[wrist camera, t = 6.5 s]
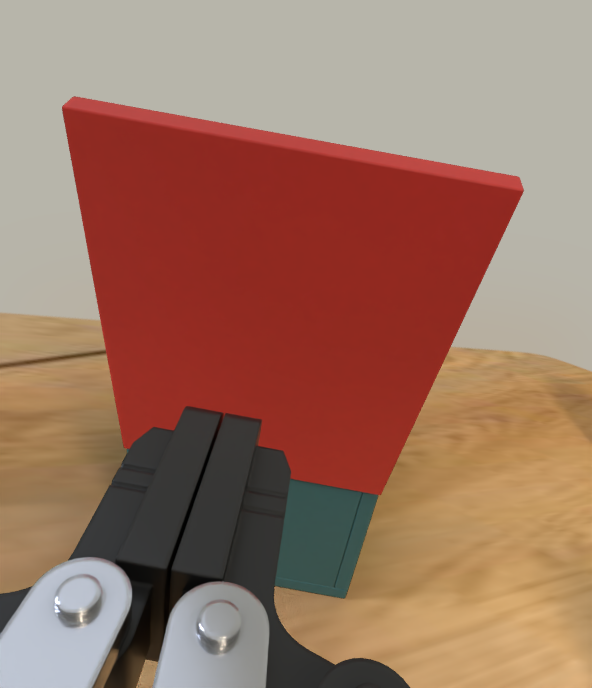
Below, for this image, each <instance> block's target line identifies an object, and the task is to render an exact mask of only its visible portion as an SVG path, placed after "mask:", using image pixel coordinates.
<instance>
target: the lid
mask: <svg viewBox="0 0 592 688" xmlns="http://www.w3.org/2000/svg"><path fill="white" fill-rule="evenodd" d="M62 111H63V117H64V122H65V127H66V133H67V139H68V144H69V150H70V155H71V160H72V166H73V171H74V177H75V182H76V188H77V193H78V199H79V204H80V210H81V215H82V221H83V226H84V231H85V237H86V243H87V248H88V254H89V259H90V265H91V270H92V275H93V281H94V287H95V292H96V297H97V303H98V309H99V314H100V320H101V325H102V331H103V336H104V342H105V347H106V353H107V358H108V363H109V369H110V374H111V380H112V385H113V391H114V396H115V402H116V407H117V413H118V418H119V424H120V429H121V435H122V440H123V446H124V448H127V449H130V447H131V446H132V444H133V442H134V441H136V440H137V439H138V438H140V437H141V436H142V435H143V434H145V433H146V432H147V431H149V430H150V429H151V428H153V427H158V428H163V429H169V430H175V427H176V425H177V423H178V421H179V419H180V416H181V414H182V412H183V410H184V408H185V407H186V406H191V407H196V408H202V409H207V410H213V411H218V412H223V414H224V415H225V413H230V414H235V415H240V416H246V417H251V418H257V419H262V425H261V432H260V438H259V445H258V446H261V447H266V448H272V449H277V450H283V451H284V453H285V456H286V459H287V461H288V464H289V467H290V469H291V478H290V479H295V480H300V481H306V482H311V483H316V484H322V485H327V486H333V487H338V488H343V489H349V490H354V491H360V492H365V493H371V494H376V495H381V493H382V491H383V489H384V487H385V485H386V483H387V481H388V479H389V476H390V474H391V472H392V470H393V468H394V466H395V464H396V462H397V459H398V457H399V455H400V453H401V451H402V449H403V447H404V445H405V442H406V440H407V438H408V436H409V434H410V432H411V430H412V428H413V425H414V423H415V421H416V419H417V417H418V415H419V413H420V411H421V408H422V406H423V404H424V402H425V400H426V398H427V396H428V394H429V391H430V389H431V387H432V385H433V383H434V381H435V379H436V377H437V374H438V372H439V370H440V368H441V366H442V364H443V362H444V360H445V357H446V355H447V353H448V351H449V349H450V347H451V345H452V343H453V340H454V338H455V336H456V334H457V332H458V330H459V328H460V326H461V323H462V321H463V319H464V317H465V315H466V312H467V310H468V309H469V306H470V304H471V302H472V300H473V298H474V296H475V294H476V291H477V289H478V287H479V285H480V283H481V281H482V279H483V277H484V274H485V272H486V270H487V268H488V266H489V264H490V261H491V260H492V257H493V255H494V253H495V251H496V249H497V247H498V245H499V242H500V240H501V238H502V236H503V234H504V232H505V230H506V228H507V226H508V223H509V221H510V219H511V217H512V215H513V213H514V211H515V209H516V206H517V204H518V202H519V200H520V198H521V196H522V194H523V191H524V189H523V186H522V183H521V180H520V178H519V177H517V176H511V175H506V174H501V173H494V172H489V171H484V170H478V169H473V168H466V167H461V166H456V165H451V164H445V163H440V162H434V161H429V160H423V159H417V158H412V157H407V156H401V155H395V154H390V153H385V152H379V151H373V150H368V149H362V148H357V147H351V146H346V145H340V144H334V143H329V142H324V141H318V140H313V139H307V138H301V137H296V136H291V135H285V134H279V133H274V132H268V131H263V130H257V129H252V128H246V127H241V126H235V125H230V124H224V123H218V122H213V121H208V120H202V119H197V118H190V117H185V116H180V115H175V114H169V113H163V112H158V111H152V110H147V109H141V108H136V107H130V106H125V105H119V104H114V103H108V102H103V101H97V100H92V99H86V98H80V97H72V98H71V99H70V100H69V101H68V102H67V103H65V104H64V105H63V107H62Z"/></svg>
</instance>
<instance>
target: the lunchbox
mask: <svg viewBox="0 0 592 688" xmlns="http://www.w3.org/2000/svg"><path fill="white" fill-rule="evenodd" d="M128 451H129V449H127V453H128ZM377 498H378V495H376V494H371V493H365V492H360V491H354V490H349V489H343V488H338V487H333V486H327V485H322V484H316V483H311V482H306V481H300V480H295V479H290V484H289V491H288V497H287V505H286V512H285V518H284V525H283V532H282V539H281V546H280V552H279V559H278V566H277V573H276V579H275V586H279V587H284V588H290V589H295V590H300V591H306V592H311V593H317V594H322V595H327V596H333V597H338V598H343V599H344V598H345V597H346V594H347V591H348V588H349V585H350V582H351V579H352V576H353V573H354V570H355V567H356V564H357V560H358V557H359V554H360V551H361V548H362V545H363V542H364V539H365V536H366V533H367V529H368V526H369V523H370V520H371V517H372V514H373V511H374V508H375V505H376V502H377Z"/></svg>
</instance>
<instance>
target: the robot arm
mask: <svg viewBox="0 0 592 688" xmlns="http://www.w3.org/2000/svg"><path fill="white" fill-rule="evenodd" d="M261 425H262V419H257V418H251V417H246V416H240V415H235V414H230V413H225V415H224V414H223V412H218V411H213V410H207V409H202V408H196V407H191V406H186V407H185V408H184V410H183V412H182V414H181V416H180V419H179V421H178V423H177V425H176V427H175V430H169V429H163V428H158V427H153V428H151V429H150V430H149V431H147V432H146V433H145V434H143V435H142V436H141V437H140V438H138V439H137V440H136V441H134V442H133V444H132V446H131V447H130V449H129V451H128V453H127V455H126V457H125V458H124V460H123V462H122V466H121V468H119V469H118V471H117V473H116V475H115V477H114V479H113V480H112V485H110V486H109V488H108V490H107V491H106V493H105V495H104V497H103V499H102V501H101V502H100V504H99V506H98V508H97V510H96V512H95V514H94V515H93V517H92V519H91V521H90V523H89V525H88V526H87V528H86V530H85V532H84V534H83V536H82V537H81V539H80V541H79V543H78V545H77V547H76V548H75V550H74V552H73V554H72V555H71V557H70V558H69V560H68V561H66V562H64V563H61V564H59V565H57V566H55V567H54V568H52V569H50V570H49V571H48V572H46V573H45V574H44V575H43V576H42V577H41V578H40V579H38V580H37V582H36V583H35V584H34V585H33V586H31V587H29V588H26V589H23V590H19V591H15V592H10V593H3V594H0V688H136V686H137V683H138V680H139V677H140V674H141V671H142V668H143V665H144V662H145V659H147V660H152V661H157V662H158V666H157V670H156V674H155V679H154V683H153V687H152V688H410V687H409V686H408V684H407V683H406V682H405V681H404V680H403V678H402V677H400V676H399V675H398V674H397V673H396V672H395V671H393V670H392V669H391V668H389V667H388V666H386V665H384V664H382V663H380V662H377V661H374V660H371V659H364V658H353V659H349V660H344V661H342V662H340V663H338V664H336V665H334V664H333V663H331V662H329V661H327V660H326V659H324V658H322V657H320V656H318V655H317V654H315V653H313V652H311V651H310V650H308V649H306V648H305V647H303V646H302V645H300V644H299V643H298V642H297V641H295V640H294V639H293V638H292V637H291V636H290V635H289V633H288V632H287V631H286V630H285V628H284V627H283V625H282V624H281V622H280V620H279V618H278V615H277V613H276V609H275V605H274V586H275V579H276V573H277V566H278V559H279V552H280V546H281V539H282V532H283V525H284V518H285V512H286V505H287V497H288V491H289V484H290V478H291V469H290V467H289V464H288V461H287V459H286V456H285V453H284V451H283V450H277V449H272V448H266V447H261V446H258V445H259V438H260V432H261Z"/></svg>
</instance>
